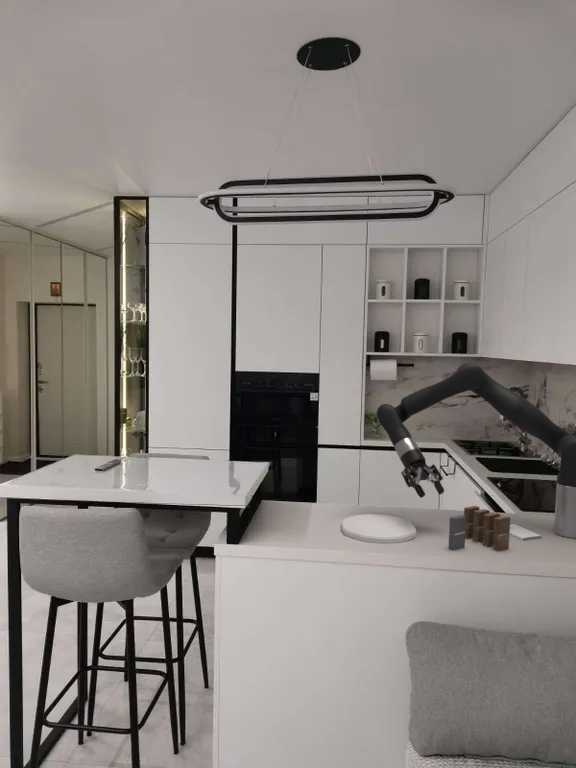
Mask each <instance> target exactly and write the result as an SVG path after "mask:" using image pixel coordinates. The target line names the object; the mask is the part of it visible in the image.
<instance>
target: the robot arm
mask: <svg viewBox="0 0 576 768" xmlns="http://www.w3.org/2000/svg"><path fill="white" fill-rule="evenodd" d="M467 391H471V392H472V393H474V394H476V395H477V396H479V397H481V398H482V399H484V400H485V401H486V402H487V403H488V404H489V405H490V406H492V408H493V409H494V410H495V411H497V412H498V413H499V414H500V415H501V416H502V417H503V418H504V419H506V420H507V421H508V422H510V423H512V425H514V426H515V427H517V429H519V430H521V431H523V432H525V433H526V434H528V435H530V436H533V437H534V438H537V439H538V440H540V441H541V442H543V443H544V444H545V445H547V446H548V447H549V448H550V449H551V450H552V451H553V452H554V453H555V454H556V455H557V456H558V457H559V458H560V463H559V464H560V468H559V472H558V474H557V475H556V488H555V490H556V491H555V506H554V523H553V533H554V534H556V535H558V536H562V537H565V538H570V539H572V538H573V539H576V435H574V434H572V433H570V432H569V431H567V430H566V429H564V428H562V427H560V426H558V425H557V424H556V423H554V422H553V421H552V419H550V418H549V417H548V416H547V415H546V414H545V413H544V412H543V411H541V410H540V409H539V408H538V407H537V406H536V405H535V404H533V403H531V402H530V401H529V400H527V399H526V398H524V397H523V396H522V395H520V394H519V393H517V392H515V391H513V390H511V389H510V388H507V387H505V386H504V385H502V384H500V383H498V382H497V381H496V380H494V379H493V378H492V377H491V376H490V375H489V374H488V373H487V372H486V371H484V370H483V368H482V367H481V366H480V365H479V364H477V363H475V362H465V363H462V364H461V365H459V366H458V367H457V369H456V371H455V372H454V373H452V374H451V375H449V376H448V377H446V378H445V379H443V380H441V381H438V382H437V383H434V384H431V385H429V386H426V387H423V388H421V389H418V390H417V391H414V392H412V393H410V394H408V395H407V396H404V397H403V398H402V399H401V400H400V404H398V405H396V406H393V405H391V404H390V403H382V404H380V405H379V406H378V407H377V409H376V418H377V419H378V421H379V423H380V425H381V426H382V428H383V429H384V431H385V432H386V434H387V436H388V437H389V439H390V443H392V445H393V447H394V449H395V451H396V454H397V456H398V458H399V460H400V461H401V463H402V465H403V467H404V469H403V470H402V471H401V473H400V474H401V476H402V477H403V480H404V483H406V486H407V487H408V488H412V489H414V490H415V492H416V494H417V496H419V498H425V497H424V496H426V492H425V490H424V489H423V487H422V486H421V484H420V481H426V482H428V483H429V482H430V483H431V484H432V485H433V486H434V488H435V490H436V493H438V495H443V494H444V492H445V489H444V487H443V485H442V483H441V481H442V480H443V479H444V477H443V475H442V474H441V472H440V471H439V470H438V468H437V466H436V465H435V464H434V463H433V464H432V465H430V466H429V465H427V463H426V458H425V456H424V454H423V453H422V451H421V449H420V448H419V445H418V444H417V442H416V440H415V439H413V437H412V435H411V433H410V432H409V430H408V428H407V427H406V426H405V424H404V423H405V422H406V421H407V420H408V419H410V418H411V417H412V416H414V415H416V414H418V413H421V412H422V411H425V410H426V409H428V408H430V407H432V406H434V405H436V404H438V403H440V402H442V401H444V400H446V399H449V398H451V397H453V396H456V395H460V394H462V393H465V392H467Z"/></svg>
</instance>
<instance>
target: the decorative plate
mask: <svg viewBox="0 0 576 768" xmlns="http://www.w3.org/2000/svg"><path fill="white" fill-rule="evenodd" d="M341 526H342V527H341V533H343V534H345V535H346V536H345V535H344V536H345V537H348V538H351V539H353V538H354V540H357V541H360V540H361V542H364V541H368V542H367V543H373V542H379V543H378V544H383V543H384V544H398V542H399V543H403V542H408V541H410V540H413V539H415V538H416V537H417V528H416V527H415V525H414V524H413V523H412V522H411V521H410V520H408V519H406V518H404V517H398V516H394V515H391V514H378V513H368V514H365V513H364V514H356V515H352V516H347V517H345V518H344V519H342V520H341Z"/></svg>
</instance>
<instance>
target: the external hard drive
mask: <svg viewBox="0 0 576 768" xmlns="http://www.w3.org/2000/svg"><path fill="white" fill-rule="evenodd" d="M509 536H512V537H513V538H516V539H517V540H520V541H522V542H524V541H530V540H531V541H532V540H538V539H543V537H542V536H543V535H541V534H538V533H536V532H534V531H531V530H529V529H526V528H524V527H521V526H519V525H518V524H515V523H512V524H511V523H510V533H509Z"/></svg>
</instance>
